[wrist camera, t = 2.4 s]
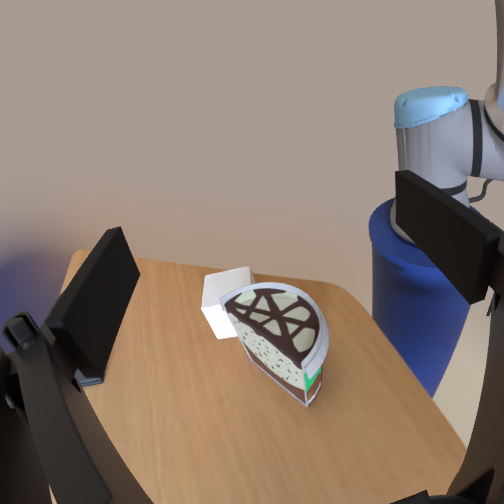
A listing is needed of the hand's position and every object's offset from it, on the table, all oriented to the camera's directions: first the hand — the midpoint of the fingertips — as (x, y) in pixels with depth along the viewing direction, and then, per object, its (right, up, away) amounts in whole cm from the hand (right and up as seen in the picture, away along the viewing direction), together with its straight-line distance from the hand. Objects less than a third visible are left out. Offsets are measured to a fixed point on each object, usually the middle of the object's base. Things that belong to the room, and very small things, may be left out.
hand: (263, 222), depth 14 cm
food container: (+5, -14, +19) cm, 24 cm away
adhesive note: (-2, -10, +27) cm, 29 cm away
